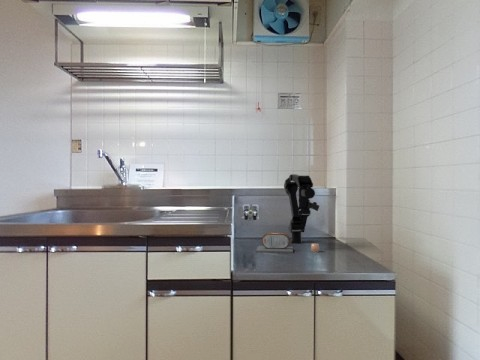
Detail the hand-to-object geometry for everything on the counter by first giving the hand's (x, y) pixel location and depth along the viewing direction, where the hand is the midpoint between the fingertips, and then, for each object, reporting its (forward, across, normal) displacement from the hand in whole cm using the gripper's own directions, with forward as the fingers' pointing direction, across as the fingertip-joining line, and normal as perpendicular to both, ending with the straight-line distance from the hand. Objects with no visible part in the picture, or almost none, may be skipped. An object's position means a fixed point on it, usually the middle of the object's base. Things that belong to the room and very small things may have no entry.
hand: (304, 225), depth 185 cm
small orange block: (+12, -12, -5) cm, 18 cm away
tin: (+11, -11, +16) cm, 22 cm away
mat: (+12, -11, +16) cm, 23 cm away
